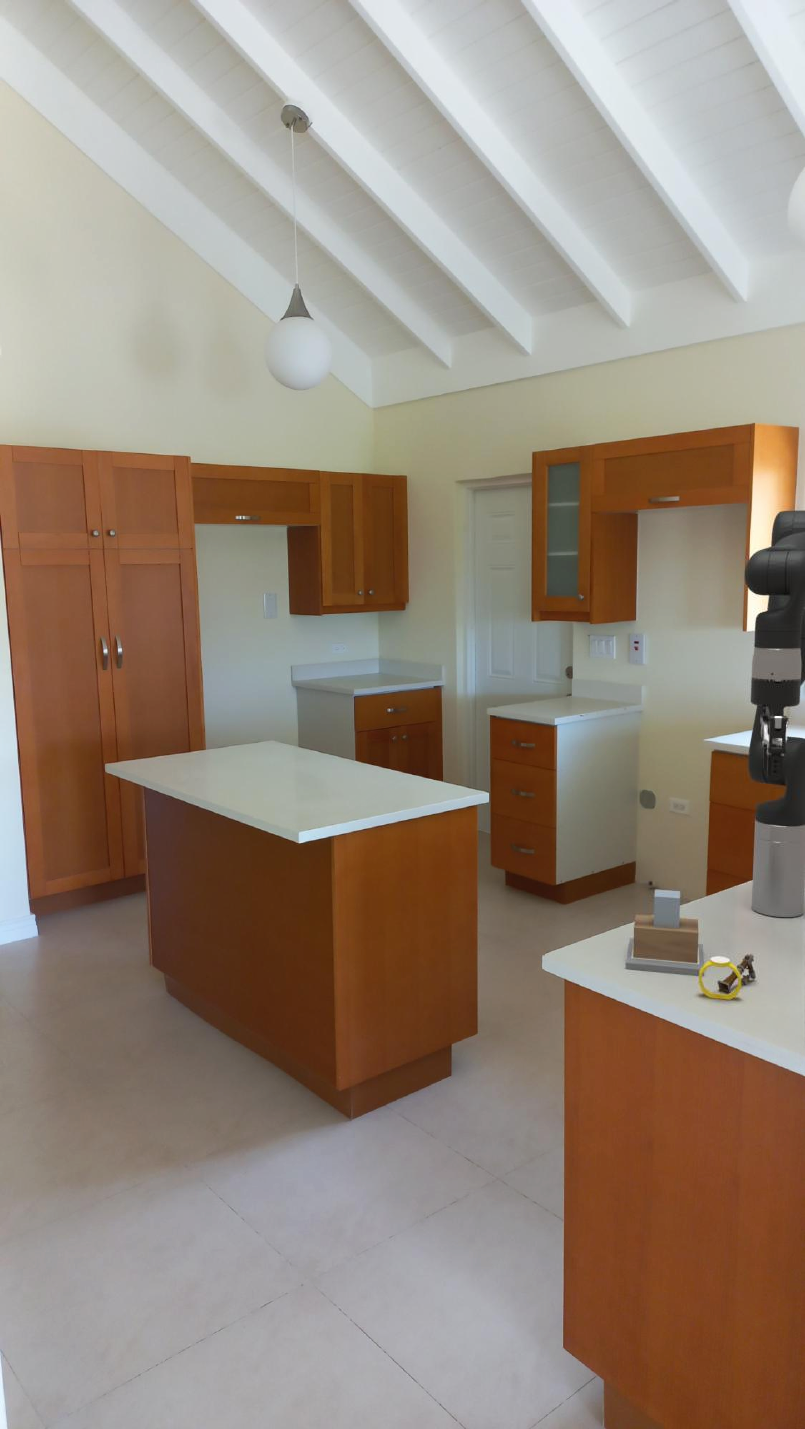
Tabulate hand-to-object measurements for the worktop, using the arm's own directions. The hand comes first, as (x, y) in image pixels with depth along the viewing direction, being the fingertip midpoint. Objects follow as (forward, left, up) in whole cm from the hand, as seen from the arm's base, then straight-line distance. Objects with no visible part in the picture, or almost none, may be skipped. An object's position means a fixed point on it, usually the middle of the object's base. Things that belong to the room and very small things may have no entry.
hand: (772, 774), depth 164 cm
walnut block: (+8, -16, -29) cm, 34 cm away
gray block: (+8, -16, -24) cm, 30 cm away
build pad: (+8, -16, -30) cm, 35 cm away
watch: (+22, -8, -30) cm, 38 cm away
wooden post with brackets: (+17, -5, -30) cm, 35 cm away
